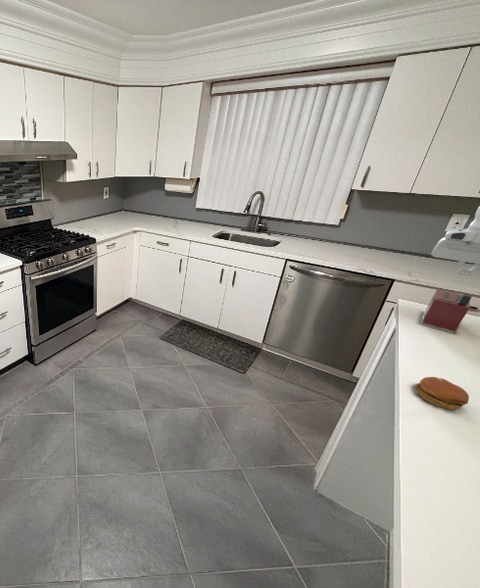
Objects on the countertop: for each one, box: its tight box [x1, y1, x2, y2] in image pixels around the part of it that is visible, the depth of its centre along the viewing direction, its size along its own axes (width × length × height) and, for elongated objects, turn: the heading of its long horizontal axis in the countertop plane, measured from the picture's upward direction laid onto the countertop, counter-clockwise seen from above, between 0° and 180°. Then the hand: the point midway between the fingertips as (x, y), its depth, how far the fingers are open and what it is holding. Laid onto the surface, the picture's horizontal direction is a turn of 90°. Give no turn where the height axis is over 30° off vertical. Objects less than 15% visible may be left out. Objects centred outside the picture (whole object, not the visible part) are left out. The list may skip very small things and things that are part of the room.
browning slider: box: [459, 293, 473, 305], centre depth 113 cm, size 2×2×3 cm
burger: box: [415, 376, 470, 411], centre depth 84 cm, size 10×9×5 cm
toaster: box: [420, 288, 471, 334], centre depth 122 cm, size 15×9×11 cm, turn 131°
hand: (463, 274), depth 112 cm, fingers closed
